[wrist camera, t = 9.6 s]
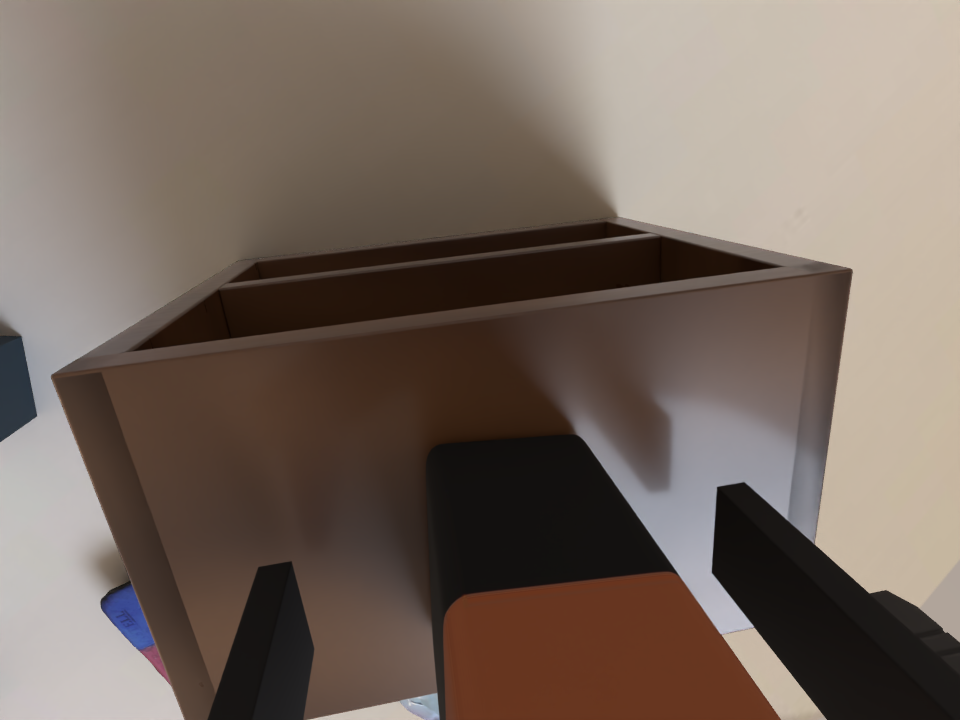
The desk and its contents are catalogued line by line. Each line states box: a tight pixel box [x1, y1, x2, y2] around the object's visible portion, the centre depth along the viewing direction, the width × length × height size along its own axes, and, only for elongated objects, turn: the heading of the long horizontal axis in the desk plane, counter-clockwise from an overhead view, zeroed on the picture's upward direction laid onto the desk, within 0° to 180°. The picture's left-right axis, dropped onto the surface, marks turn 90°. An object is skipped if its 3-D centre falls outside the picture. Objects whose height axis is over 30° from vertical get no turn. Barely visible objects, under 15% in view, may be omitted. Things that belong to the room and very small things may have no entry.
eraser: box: [101, 581, 171, 685], centre depth 33 cm, size 11×4×2 cm, turn 21°
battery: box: [426, 434, 781, 720], centre depth 11 cm, size 4×7×10 cm, turn 0°
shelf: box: [51, 217, 853, 720], centre depth 23 cm, size 12×20×16 cm, turn 95°
